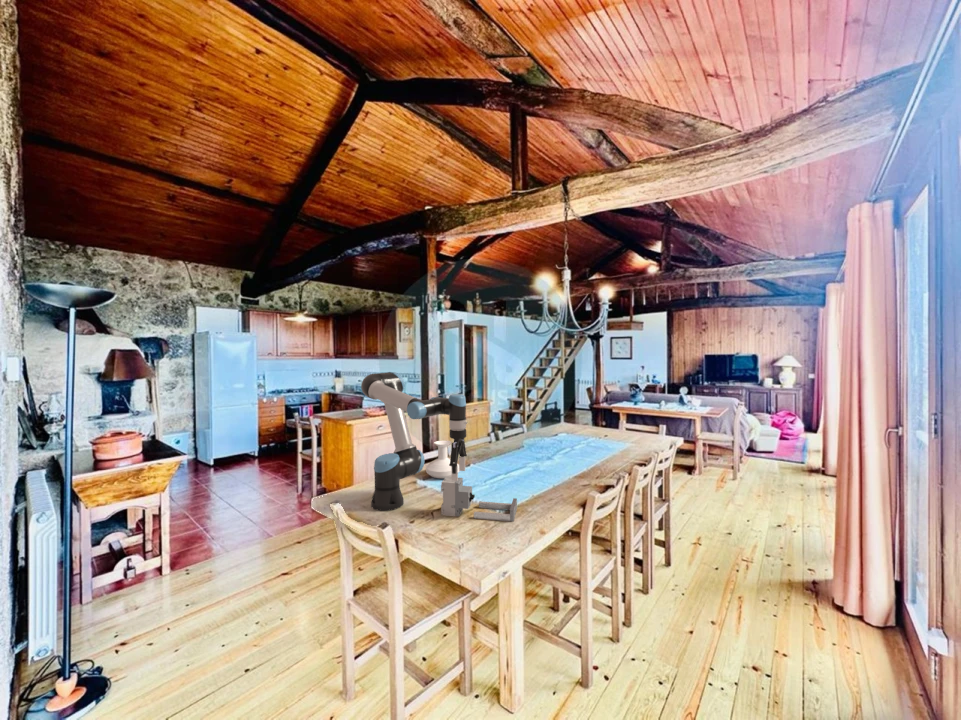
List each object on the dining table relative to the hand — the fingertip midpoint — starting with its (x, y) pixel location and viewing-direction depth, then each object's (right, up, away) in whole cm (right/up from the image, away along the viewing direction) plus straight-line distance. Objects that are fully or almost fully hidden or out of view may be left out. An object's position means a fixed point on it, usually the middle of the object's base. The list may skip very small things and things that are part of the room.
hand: (458, 475), depth 184 cm
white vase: (-12, -15, +53) cm, 57 cm away
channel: (+16, -17, 0) cm, 23 cm away
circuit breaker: (0, -18, +1) cm, 18 cm away
